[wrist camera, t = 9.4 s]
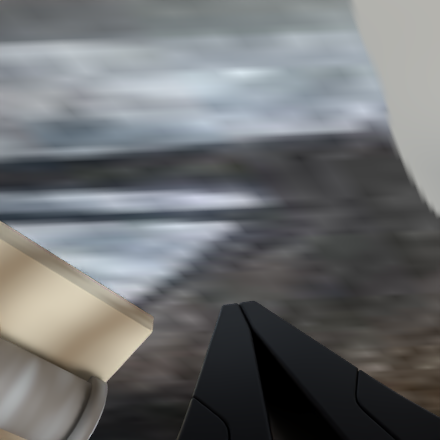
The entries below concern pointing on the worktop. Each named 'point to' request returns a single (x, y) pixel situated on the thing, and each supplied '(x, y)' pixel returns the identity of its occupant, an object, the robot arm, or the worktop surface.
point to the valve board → (57, 343)
